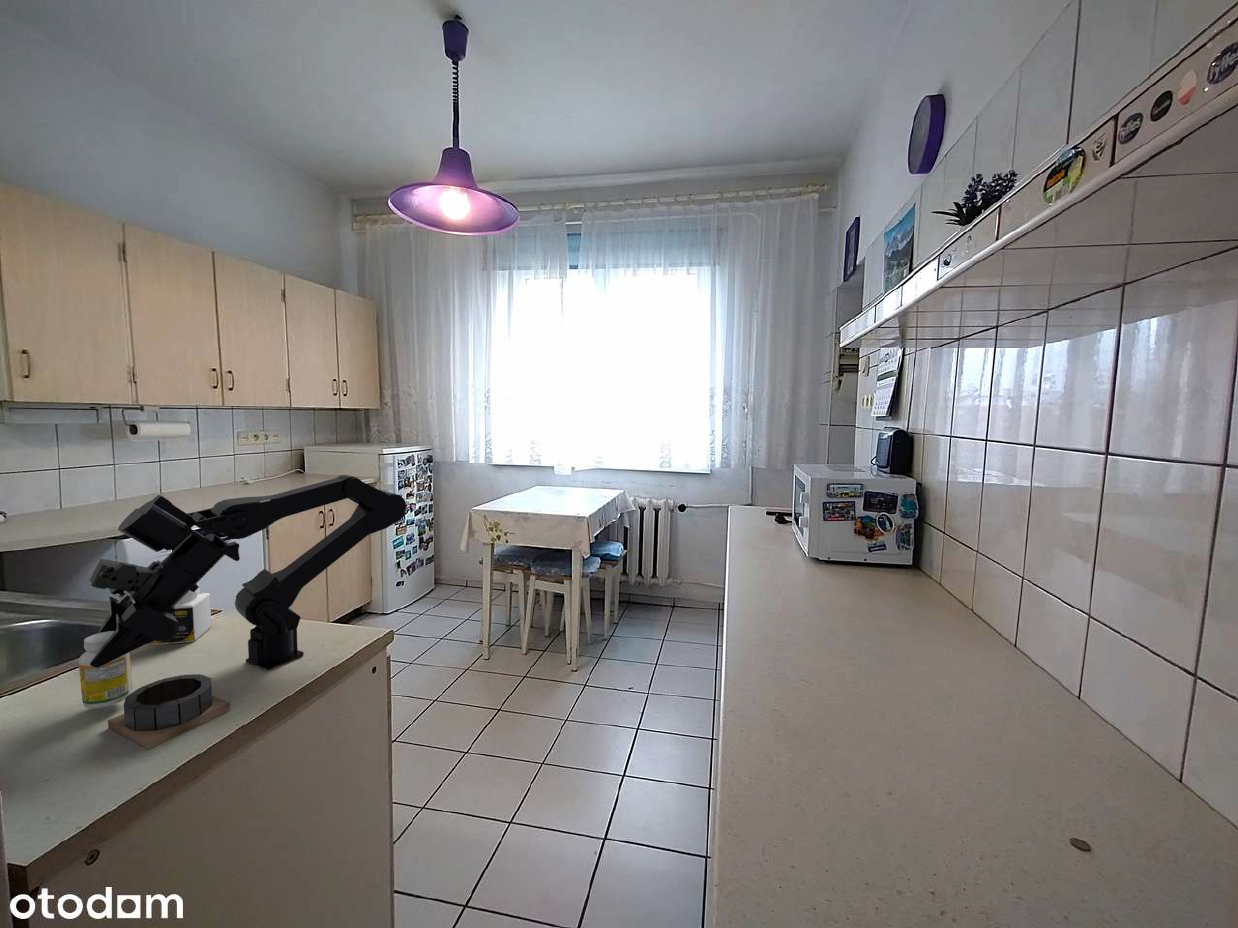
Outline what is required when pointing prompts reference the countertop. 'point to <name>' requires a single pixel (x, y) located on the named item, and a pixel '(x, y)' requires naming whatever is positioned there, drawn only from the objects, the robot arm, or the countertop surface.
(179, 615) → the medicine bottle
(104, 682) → the supplement bottle
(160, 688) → the socket holder
